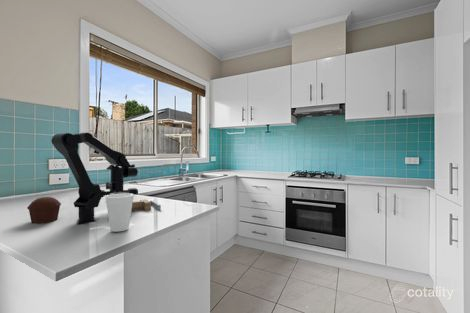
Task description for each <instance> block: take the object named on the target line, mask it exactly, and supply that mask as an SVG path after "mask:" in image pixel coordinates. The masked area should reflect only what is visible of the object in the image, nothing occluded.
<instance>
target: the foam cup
mask: <svg viewBox="0 0 470 313" xmlns="http://www.w3.org/2000/svg"><path fill="white" fill-rule="evenodd" d="M132 202H134V198H133V194H129V193H123V194H112V195H105V203H106V210H107V216H108V223H109V228H110V232H116V233H117V232H124V231H126V230H128V229H129V227H130V222H131V215H132V211H131V209H132Z"/></svg>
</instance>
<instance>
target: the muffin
mask: <svg viewBox="0 0 470 313" xmlns="http://www.w3.org/2000/svg"><path fill="white" fill-rule="evenodd" d="M61 205H62V203H61V202H60V201H59V200H58V199H57V198H55V197H51V196H44V197H39V198H36V199H34V200H33V201H32V202H30V204H29V205H28V206H27V207H26V208H27V210H28V213H29V217H30V218H29V219H30V222H31V224H38V225H39V224H47V223H52V222H54V221H55V222H56V221H57V220H58V218H59V212H60V207H61Z"/></svg>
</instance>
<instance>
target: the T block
mask: <svg viewBox="0 0 470 313" xmlns="http://www.w3.org/2000/svg"><path fill="white" fill-rule="evenodd" d="M151 210H152V205H151V202H150V200H148V199H140V200H136V201H133V202H132V209H131V212H136V211H144V212H146V211H151Z"/></svg>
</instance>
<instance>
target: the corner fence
mask: <svg viewBox="0 0 470 313" xmlns="http://www.w3.org/2000/svg"><path fill="white" fill-rule="evenodd" d="M149 201H150V202H151V207H153V208H154V209H156V210H157V211H158V212H159V211H161V209H162V208H161V206H162V204H159V203H158V202H156V201H155V200H152V199H150V200H149Z"/></svg>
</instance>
